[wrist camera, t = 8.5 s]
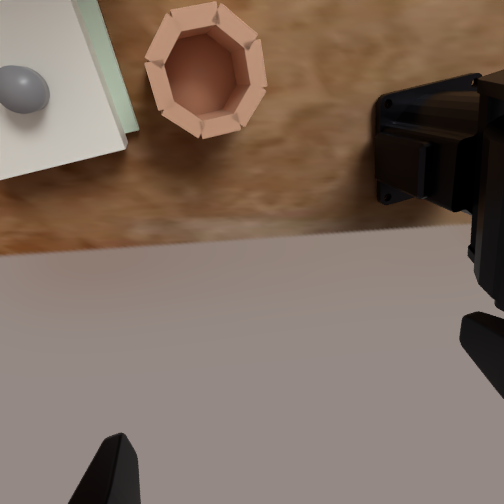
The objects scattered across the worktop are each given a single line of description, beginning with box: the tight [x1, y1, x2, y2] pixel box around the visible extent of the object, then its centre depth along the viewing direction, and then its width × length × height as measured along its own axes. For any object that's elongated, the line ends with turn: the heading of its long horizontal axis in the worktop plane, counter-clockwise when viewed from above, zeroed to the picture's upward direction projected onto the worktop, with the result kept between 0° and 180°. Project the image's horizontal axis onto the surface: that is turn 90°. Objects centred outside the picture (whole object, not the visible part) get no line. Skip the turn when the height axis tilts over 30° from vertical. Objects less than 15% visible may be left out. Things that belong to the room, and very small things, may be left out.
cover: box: [0, 0, 128, 180], centre depth 14 cm, size 6×6×3 cm
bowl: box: [144, 1, 267, 139], centre depth 15 cm, size 5×5×4 cm
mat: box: [77, 0, 140, 133], centre depth 15 cm, size 7×8×1 cm
